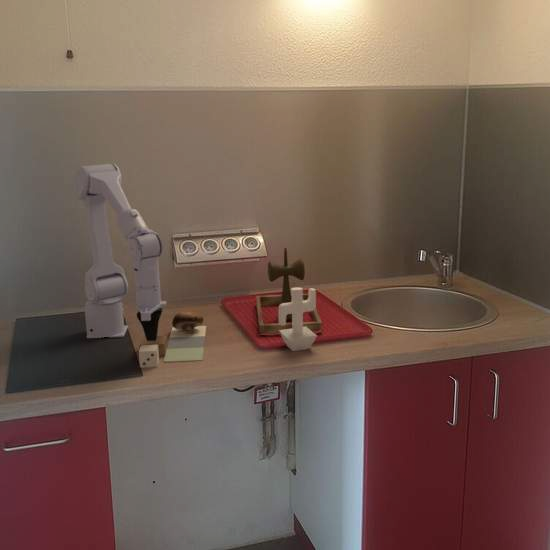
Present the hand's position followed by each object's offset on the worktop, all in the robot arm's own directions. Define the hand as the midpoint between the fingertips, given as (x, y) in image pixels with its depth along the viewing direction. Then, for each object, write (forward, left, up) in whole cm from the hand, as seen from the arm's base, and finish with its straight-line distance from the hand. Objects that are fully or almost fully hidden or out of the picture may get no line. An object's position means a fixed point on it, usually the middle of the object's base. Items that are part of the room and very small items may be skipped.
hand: (151, 339), depth 164 cm
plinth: (0, +3, -4) cm, 5 cm away
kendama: (+34, +24, -4) cm, 42 cm away
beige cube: (0, -3, -2) cm, 4 cm away
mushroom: (+8, +16, -4) cm, 18 cm away
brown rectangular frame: (+34, +24, -4) cm, 42 cm away
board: (+8, +8, -4) cm, 11 cm away
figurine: (+35, +2, -4) cm, 35 cm away
